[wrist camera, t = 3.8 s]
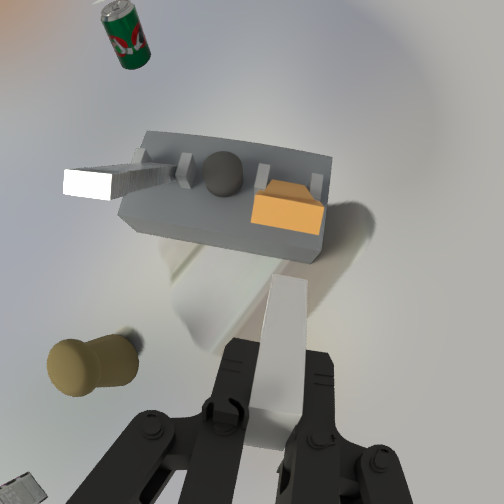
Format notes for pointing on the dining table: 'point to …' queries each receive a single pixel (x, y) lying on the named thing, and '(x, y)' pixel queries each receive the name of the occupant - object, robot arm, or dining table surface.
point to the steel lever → (117, 179)
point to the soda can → (126, 34)
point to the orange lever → (287, 207)
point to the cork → (92, 364)
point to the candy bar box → (22, 491)
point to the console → (224, 208)
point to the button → (223, 173)
